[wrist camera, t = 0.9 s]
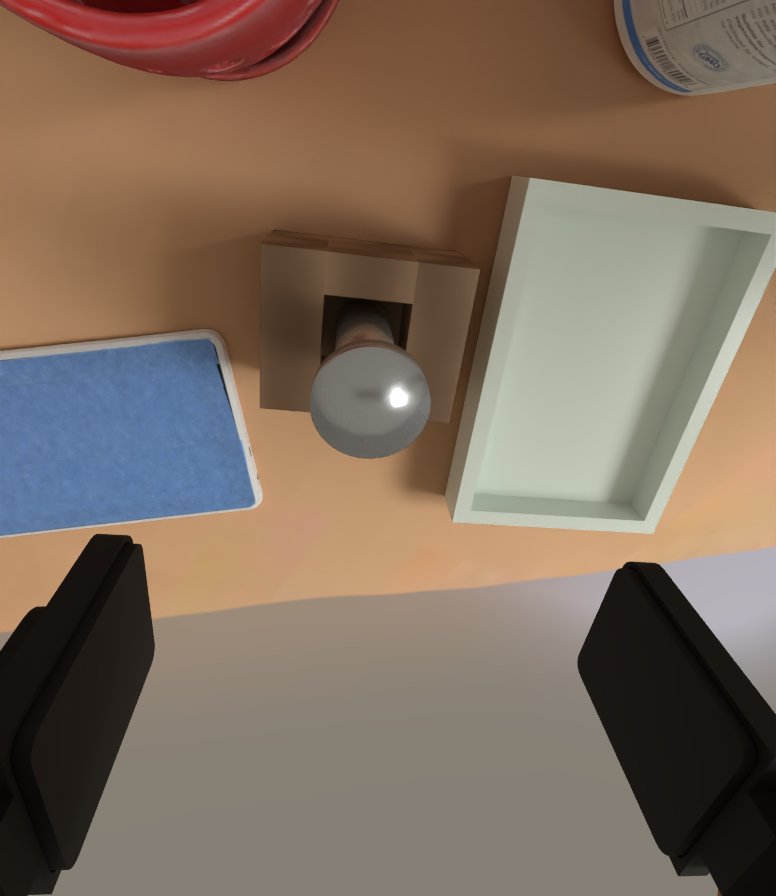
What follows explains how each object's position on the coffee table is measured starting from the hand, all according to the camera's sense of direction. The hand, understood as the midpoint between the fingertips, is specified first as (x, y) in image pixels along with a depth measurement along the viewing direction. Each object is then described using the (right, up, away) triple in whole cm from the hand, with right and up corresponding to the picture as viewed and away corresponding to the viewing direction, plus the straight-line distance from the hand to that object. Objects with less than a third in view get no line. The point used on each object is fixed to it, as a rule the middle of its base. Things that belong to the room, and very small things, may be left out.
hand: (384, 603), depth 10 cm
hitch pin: (-1, +10, +18) cm, 21 cm away
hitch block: (-1, +11, +20) cm, 22 cm away
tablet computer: (-18, +4, +23) cm, 30 cm away
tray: (+12, +8, +22) cm, 26 cm away
